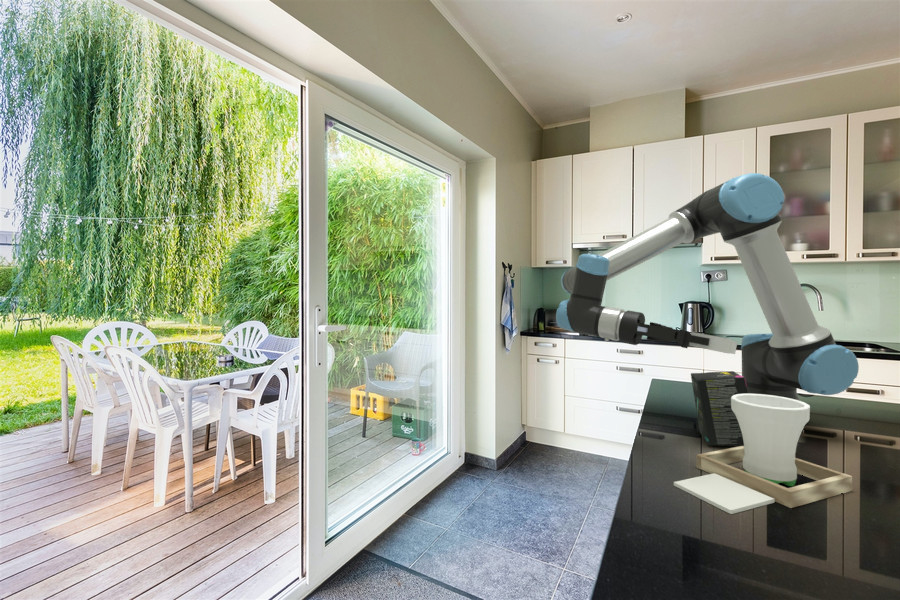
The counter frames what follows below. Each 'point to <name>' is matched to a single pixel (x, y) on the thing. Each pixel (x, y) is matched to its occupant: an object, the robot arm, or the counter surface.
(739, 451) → the birch frame
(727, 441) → the tampon box
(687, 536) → the counter surface
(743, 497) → the felt mat
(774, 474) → the cup
